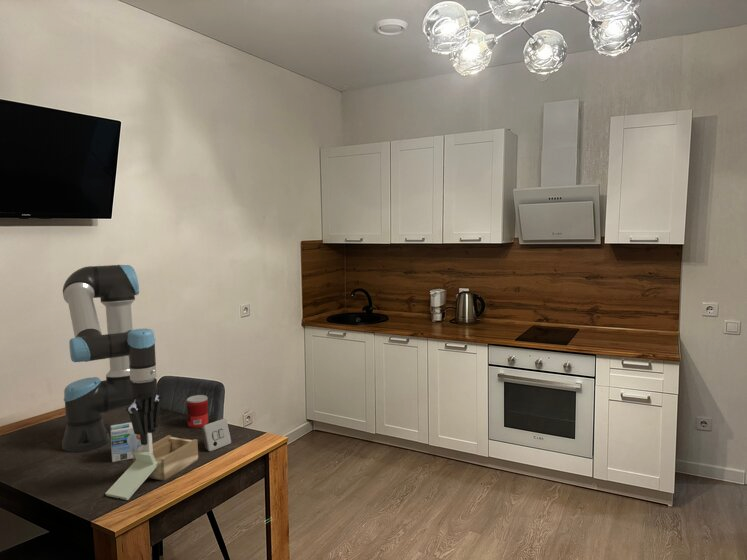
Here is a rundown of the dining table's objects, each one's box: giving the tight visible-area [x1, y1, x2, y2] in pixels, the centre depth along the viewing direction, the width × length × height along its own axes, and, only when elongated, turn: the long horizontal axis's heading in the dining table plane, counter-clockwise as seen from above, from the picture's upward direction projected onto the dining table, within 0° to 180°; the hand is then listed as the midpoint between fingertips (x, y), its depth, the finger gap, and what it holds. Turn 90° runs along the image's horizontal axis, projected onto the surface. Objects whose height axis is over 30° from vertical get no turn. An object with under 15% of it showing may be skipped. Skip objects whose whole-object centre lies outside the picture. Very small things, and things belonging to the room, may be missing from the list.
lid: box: [105, 450, 159, 501], centre depth 158 cm, size 8×14×4 cm, turn 160°
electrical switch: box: [200, 418, 232, 452], centre depth 189 cm, size 9×5×9 cm, turn 141°
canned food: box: [186, 394, 210, 429], centre depth 209 cm, size 8×8×11 cm
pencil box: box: [132, 434, 199, 482], centre depth 172 cm, size 12×16×7 cm
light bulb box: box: [110, 421, 142, 463], centre depth 181 cm, size 11×7×11 cm, turn 118°
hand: (147, 453), depth 164 cm, fingers closed
